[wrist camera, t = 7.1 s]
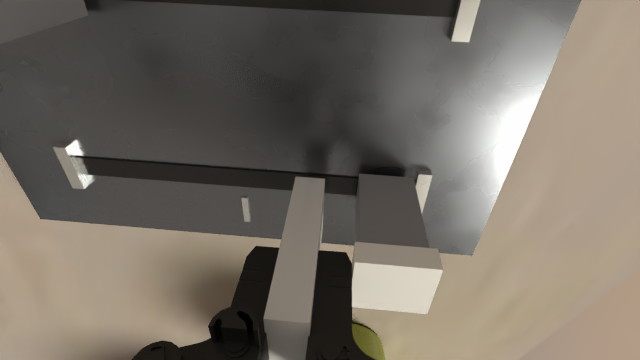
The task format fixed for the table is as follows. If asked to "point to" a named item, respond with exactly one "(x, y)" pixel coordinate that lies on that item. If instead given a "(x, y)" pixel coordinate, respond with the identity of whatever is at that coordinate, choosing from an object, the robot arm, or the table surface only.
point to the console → (275, 109)
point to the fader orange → (36, 16)
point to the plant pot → (368, 342)
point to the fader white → (392, 248)
